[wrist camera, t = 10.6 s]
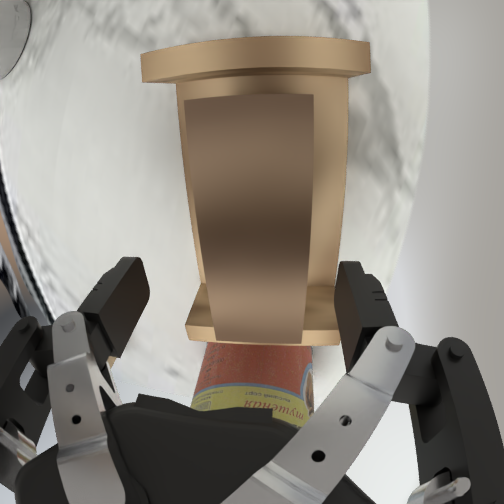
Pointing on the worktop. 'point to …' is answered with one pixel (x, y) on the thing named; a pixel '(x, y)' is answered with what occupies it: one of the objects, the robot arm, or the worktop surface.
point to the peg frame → (325, 142)
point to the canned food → (257, 380)
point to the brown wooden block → (253, 210)
